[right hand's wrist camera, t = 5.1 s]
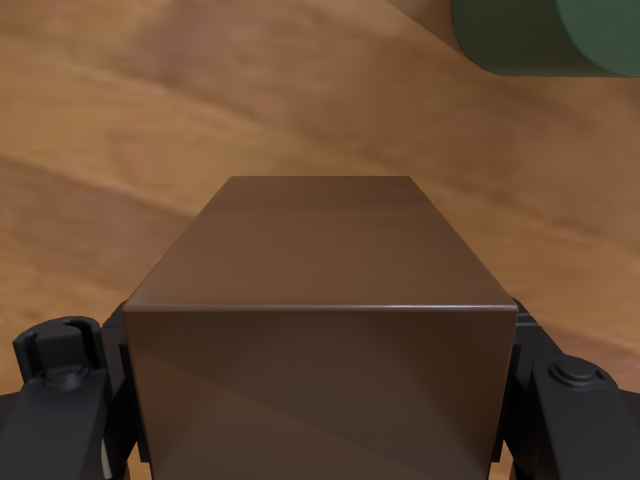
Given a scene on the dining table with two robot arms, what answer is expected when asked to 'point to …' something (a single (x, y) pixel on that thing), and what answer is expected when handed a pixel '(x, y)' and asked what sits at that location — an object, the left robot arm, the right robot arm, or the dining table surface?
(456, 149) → the dining table surface
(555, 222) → the dining table surface
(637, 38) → the dark green cylinder
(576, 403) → the right robot arm
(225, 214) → the walnut block
